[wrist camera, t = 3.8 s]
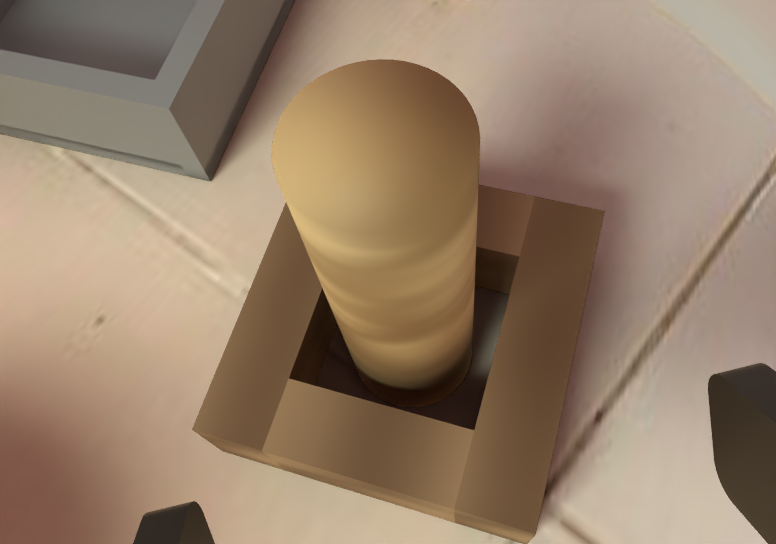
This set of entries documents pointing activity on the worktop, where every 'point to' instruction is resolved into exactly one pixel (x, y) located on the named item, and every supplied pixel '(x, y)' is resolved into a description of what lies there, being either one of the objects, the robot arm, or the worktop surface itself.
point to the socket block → (401, 428)
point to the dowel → (389, 218)
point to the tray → (134, 75)
